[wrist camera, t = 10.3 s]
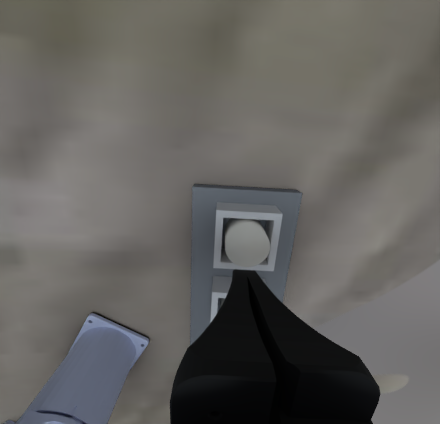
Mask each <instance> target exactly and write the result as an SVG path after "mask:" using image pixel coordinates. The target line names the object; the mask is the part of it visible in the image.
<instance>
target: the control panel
mask: <svg viewBox="0 0 440 424" xmlns="http://www.w3.org/2000/svg"><path fill="white" fill-rule="evenodd" d="M301 198H302V193H301V192H299V191H298V190H290V189H273V188H256V187H238V186H221V185H203V184H194V186H193V187H192V256H191V325H190V345H191V344H192V343H193V342H194V341H195V340H196V339H197V338H198V337H199V336H200V335H201V334H202V333H203V332H204V330H205V329H206V328H207V327H208V326H209V324H210V323H211V322H212V320H213V319H214V317H215V316H216V314H217V313H218V311H219V309H220V298H226V296H227V294H228V291H229V288H230V285H231V282H232V273H233V270H235V269H238V270H255V271H256V272H257V274H258V275H259V276H260V278H261V279H262V280H263V282H264V283H265V284H266V285H267V287H268V288H269V289H270V290H271V291H272V292H273V294H274V295H275V296H276V297H277V298H278V299H279V300H280V301H281V302H283V296H284V291H285V285H286V280H287V274H288V269H289V264H290V258H291V253H292V247H293V242H294V236H295V231H296V225H297V220H298V214H299V209H300V204H301ZM230 218H239V219H257V220H259V221H260V223H261V225H262V227H263V229H264V231H265V233H266V235H267V237H268V239H269V242H270V251H269V254H268V256H267V257H266V259H265V260H264V261H263V262H261V263H260V264H258V265H256V266H252V267H242V266H238V265H236V264H234V263H233V262H232V261H231V260H230V259H229V258H228V256H227V254H226V251H225V226H226V223H227V222H228V220H229V219H230Z"/></svg>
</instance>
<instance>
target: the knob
mask: <svg viewBox="0 0 440 424" xmlns="http://www.w3.org/2000/svg"><path fill="white" fill-rule="evenodd" d="M225 251H226V254H227V256H228V258H229V259H230V260H231V261H232V262H233V263H234V264H236V265H238V266H242V267H252V266H256V265H258V264H260V263H261V262H263V261H264V260H265V259H266V257H267V256H268V254H269V251H270V242H269V239H268V237H267V235H266V233H265V231H264V229H263V227H262V225H261V223H260V221H259V220H257V219H239V218H230V219H229V220H228V222H227V223H226V226H225Z"/></svg>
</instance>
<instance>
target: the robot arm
mask: <svg viewBox="0 0 440 424" xmlns="http://www.w3.org/2000/svg"><path fill="white" fill-rule="evenodd" d="M148 343H149V339H148V338H146V337H144V336H142V335H140V334H138V333H136V332H133V331H131V330H129V329H127V328H125V327H123V326H120V325H118V324H116V323H114V322H112V321H110V320H107V319H105V318H103V317H101V316H99V315H97V314H94V313H91V314H90V315H89V316H88V317H87V319H86V321H85V323H84V325H83V327H82V329H81V330H80V332H79V334H78V336H77V338H76V340H75V341H74V343H73V345H72V347H71V349H70V351H69V353H68V354H67V356H66V357H65V359H64V360H63V361H62V363H61V364H60V365H59V367H58V368H57V369H56V371H55V372H54V373H53V375H52V376H51V377H50V379H49V380H48V381H47V383H46V384H45V385H44V387H43V388H42V389H41V391H40V392H39V393H38V395H37V396H36V397H35V399H34V400H33V402H32V403H31V404H30V406H29V407H28V408H27V410H26V411H25V412H24V414H23V415H22V416H21V417H20V418H19V419H18V420H17V421H16V422H13V421H11V420H7V421H6V422H5V423H3V424H107V423H108V421H109V418H110V416H111V413H112V411H113V409H114V406H115V404H116V401H117V399H118V397H119V394H120V392H121V389H122V387H123V385H124V382H125V380H126V377H127V375H128V373H129V371H130V369H131V368H132V367H133V365H134V364H135V362H136V361H137V359H138V358H139V356H140V355H141V354H142V352H143V351H144V349H145V348H146V346H147V345H148ZM379 397H380V389H379V386H378V385H377V383H376V381H375V380H374V378H373V377H372V375H371V373H370V372H369V370H368V369H367V368H366V366H365V364H364V363H363V362H362V360H361V359H360V358H359V356H357V355H355V354H353V353H352V352H350V351H348V350H346V349H344V348H342V347H341V346H339V345H337V344H335V343H334V342H332V341H331V340H329V339H327V338H326V337H324V336H323V335H321V334H320V333H318V332H317V331H315V330H314V329H313V328H311V327H310V326H309V325H307V324H306V323H305V322H303V321H302V320H301V319H300V318H298V317H297V316H296V315H295V314H294V313H292V312H291V311H290V310H289V309H288V308H287V307H286V306H285V305H284V304H283V303H282V302H281V301H280V300H279V299H278V298H277V297H276V296H275V295H274V294H273V292H272V291H271V290H270V289H269V288H268V287H267V285H266V284H265V283H264V282H263V280H262V279H261V278H260V276H259V275H258V274H257V272H256V271H255V270H238V269H235V270H233V273H232V282H231V285H230V288H229V291H228V294H227V296H226V298H225V300H224V302H223V304H222V306H221V308H220V309H219V311H218V313H217V314H216V316H215V317H214V319H213V320H212V322H211V323H210V324H209V326H208V327H207V328H206V329H205V330H204V332H203V333H202V334H201V335H200V336H199V337H198V338H197V339H196V340H195V341H194V342H193V343H192V344H191V345H190V346H189V347H188V349H187V351H186V353H185V355H184V357H183V359H182V361H181V363H180V366H179V368H178V370H177V373H176V376H175V379H174V383H173V388H172V394H171V399H170V422H171V424H373V423H372V421H371V418H372V416H373V413H374V411H375V409H376V407H377V404H378V401H379Z"/></svg>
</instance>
